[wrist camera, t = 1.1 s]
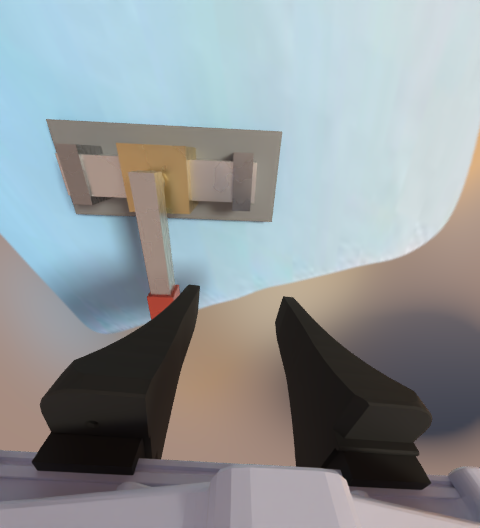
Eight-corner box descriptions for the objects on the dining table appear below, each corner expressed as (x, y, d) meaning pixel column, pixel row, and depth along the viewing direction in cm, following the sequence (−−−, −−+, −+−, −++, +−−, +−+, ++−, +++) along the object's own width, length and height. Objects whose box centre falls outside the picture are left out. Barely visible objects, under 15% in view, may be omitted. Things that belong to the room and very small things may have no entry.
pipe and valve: (95, 198, 19) (62, 209, 15) (80, 141, 17) (38, 138, 13) (251, 205, 19) (254, 216, 16) (255, 150, 17) (259, 149, 14)
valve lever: (137, 169, 14) (121, 172, 12) (168, 171, 14) (157, 173, 12) (160, 307, 19) (152, 324, 17) (182, 307, 19) (176, 324, 17)
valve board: (83, 211, 20) (76, 213, 19) (56, 120, 17) (46, 119, 16) (270, 218, 21) (271, 221, 20) (279, 132, 17) (282, 131, 16)
